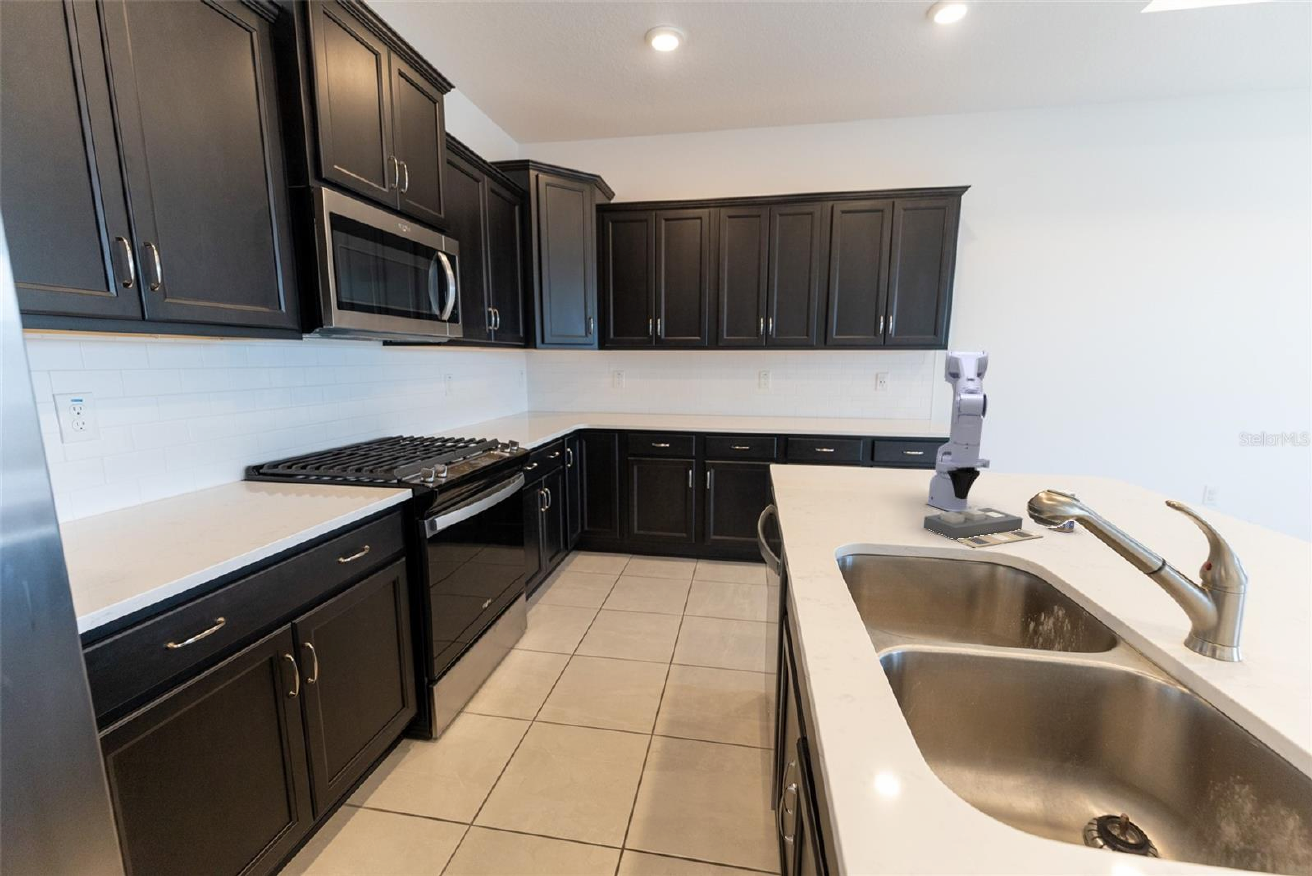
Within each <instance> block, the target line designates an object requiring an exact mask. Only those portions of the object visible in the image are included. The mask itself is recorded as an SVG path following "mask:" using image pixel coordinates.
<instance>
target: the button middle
mask: <svg viewBox="0 0 1312 876" xmlns="http://www.w3.org/2000/svg"><path fill="white" fill-rule="evenodd" d="M962 515H964V516H965V518H967V519H970V520H973V521H978V520H985V517H986V513H984V512H981V511H978V509H975V508H974V509H968V510H962Z"/></svg>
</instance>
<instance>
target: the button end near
mask: <svg viewBox="0 0 1312 876" xmlns="http://www.w3.org/2000/svg"><path fill="white" fill-rule="evenodd" d="M940 514H941V517H940V519H941V520H943V521H946V522H949V523H951V524H957V523H964V517H965V516H964V515H961V514H958V513H955V512H949V511H945V512H940Z"/></svg>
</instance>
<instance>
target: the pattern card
mask: <svg viewBox="0 0 1312 876" xmlns="http://www.w3.org/2000/svg"><path fill="white" fill-rule="evenodd" d="M1030 533H1034V532H1032V531H1029V530H1026V529H1021V530H1017V531H1011V532H1004V533H997V534H991V535H984V536H978V537H971V538H964V539H958V540H957V541H956V542H958V541H959V543H960V542H961V543H960V544H963V543H965V544H966V546H968V545H969V546H968V547H971V548H973V547H979V548H985V547H992V546H998V545H1002V543H1004V544H1010V543H1017V542H1022V541H1021V540H1023V541H1027V540H1026V539H1029V540H1031V539H1030V538H1035V539H1038V538H1037V537H1041V538H1044V535H1041V534H1039V535H1035V536H1034V535H1032V534H1030ZM965 544H964V545H965ZM997 544H998V545H997Z"/></svg>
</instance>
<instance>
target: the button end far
mask: <svg viewBox="0 0 1312 876" xmlns="http://www.w3.org/2000/svg"><path fill="white" fill-rule="evenodd" d="M986 515H988V516H991V517H994V518H1000V517H1006V516H1005V515H1002V514H998V513H995V512H987V513H986Z"/></svg>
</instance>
